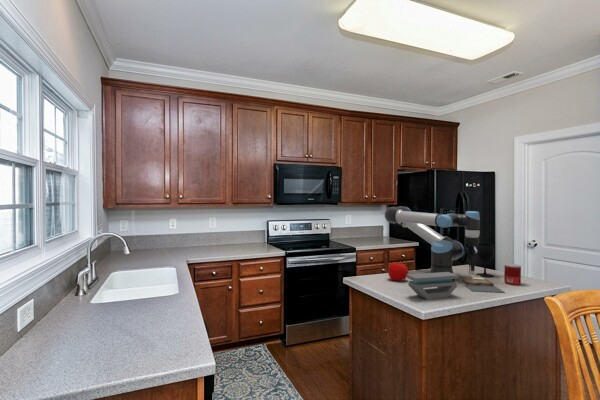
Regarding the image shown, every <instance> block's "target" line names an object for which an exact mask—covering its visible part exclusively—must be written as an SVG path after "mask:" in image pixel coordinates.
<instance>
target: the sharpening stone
mask: <svg viewBox="0 0 600 400" xmlns="http://www.w3.org/2000/svg"><path fill="white" fill-rule="evenodd" d="M406 279H408V284H407V285H408V287H410V288H411V290H412V291H413V292H414V293H415V294H416V295H417V296H419V297H421V298H423V299H425V300H429V301H430V300H437V299H439V300H440V299H447V298H449V297H450V295H451V294H452V293H453V292H454V291H455V290H456V288H457V287H458V282H457V281H456V280H457V279H460V275H459V274H456V273H454V274H453V273H450V272H439V273H429V272H427V273H414V274H413V273H411V274H410V273H408V275H407V277H406ZM452 279H455V281H453V280H452Z"/></svg>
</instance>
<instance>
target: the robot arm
mask: <svg viewBox="0 0 600 400" xmlns="http://www.w3.org/2000/svg"><path fill="white" fill-rule="evenodd" d="M384 219H385V221H387V223H390V224H398V225H400V226H401V227H403V228H408V229H409V230H410V231H412V232H413V233H414V234H416V235H418V236H419V237H420V238H421V239H423V240H424V241H426V242H427V243H429V244H430V245H431V247H430V250H431V251H430V253H431V255H430V257H431V259H430V262H431V264H430V265H431V267H430V269H429V272H428V273H439V272H450V273H453V274H455V272H454V270H453V261H457V260H459V259H460V258H462V257H463V255H464V254H465V250H466V259H467V260H466V261H467V264H468V275H476V272H475V269H476V266H477V263H478V257H477V256H478V252H479V251H478V250H477V245H478V244H480V233H481V232H480V226H481V225H480V221H481V218H480V212H479V211H475V210H471V211H469V210H466V211H465V214H463V213H461V214H460V213H446V214H444V213H434V212H432V213H430V212H422V211H421V212H420V211H418V212H417V211H412V210H411V209H410V208H409V207H408V206H403V205H402V206H401V205H400V206H389V207H388V208H387V209H386V210H385V212H384ZM430 226H433V227H440V228H450V227H451V228H452V227H465V229H464V231H465V232H464V233H465V234H464V236H465V237H464V243H465V244H467V246H465V247H464V246H463V244H462V243H461V242H459V241H458V240H453V239H452V238H450V237H448V236H447V235H446V236H443V235H442V234H440V233H439V232H437V231H435V230H434V229H432V228H431V227H430ZM452 280H453V281H455V282H456V279H452Z"/></svg>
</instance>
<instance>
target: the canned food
mask: <svg viewBox="0 0 600 400" xmlns="http://www.w3.org/2000/svg"><path fill="white" fill-rule="evenodd" d="M521 281H522V266H521V265H520V264H518V263H517V264H516V263H505V264H504V283H505V284H506V285H510V286H521V284H522V282H521Z"/></svg>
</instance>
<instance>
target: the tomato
mask: <svg viewBox="0 0 600 400" xmlns="http://www.w3.org/2000/svg"><path fill="white" fill-rule="evenodd" d="M407 275H409V269H408V267H407V265H406V264H404V262H403V263H402V262H398V261H396V262H395V261H392V262H391V263H390V264H389V267H388V276H389V278H390V279H391V280H392V281H396V282H397V281H398V282H400V281H405V279H407Z"/></svg>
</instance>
